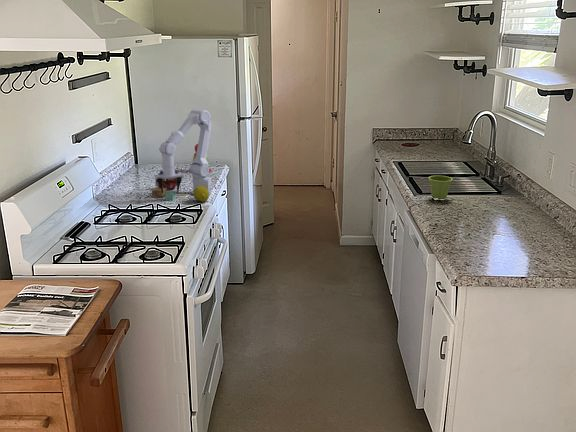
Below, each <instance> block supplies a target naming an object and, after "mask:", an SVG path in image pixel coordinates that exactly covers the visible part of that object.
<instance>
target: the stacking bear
mask: <svg viewBox="0 0 576 432" xmlns="http://www.w3.org/2000/svg"><path fill="white" fill-rule="evenodd" d="M197 147H198V143H196V144H195V145H194V151H195V152H194V154H193V157H192V161H193V160H194V159H195V158H196V154H197ZM206 160H207V162H208V163H209V159H208V156H207V157H206ZM208 168H209V173H211V171H212V170H213V169H212V168H210V167H208Z"/></svg>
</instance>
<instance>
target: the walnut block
mask: <svg viewBox="0 0 576 432" xmlns="http://www.w3.org/2000/svg"><path fill="white" fill-rule="evenodd" d="M167 189H168V187H166V188H163V193H162V191H161V188H159V187H154V188H153V189H151V198H155V199H157V198H159V199H163V198H165V193H166V192H167V191H168V190H167Z"/></svg>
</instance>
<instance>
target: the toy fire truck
mask: <svg viewBox="0 0 576 432" xmlns="http://www.w3.org/2000/svg"><path fill="white" fill-rule="evenodd" d="M160 174H163V169H162V170H160V171H159V173H158V174H157V175H160ZM175 174H179V171H178V170H175ZM154 181H155V186H156V188H160V185H159V183H158V182H157V179H156V180H155V179H154ZM162 187H163V188H167V189H168V191H174V189H175V188H177V178H169V179H162Z"/></svg>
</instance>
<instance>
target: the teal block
mask: <svg viewBox="0 0 576 432" xmlns="http://www.w3.org/2000/svg"><path fill="white" fill-rule="evenodd" d="M176 194H177V191H176V190H167V192H166V193H165V197H164V198H165V201H174V200H176V199H177V197H176Z"/></svg>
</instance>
